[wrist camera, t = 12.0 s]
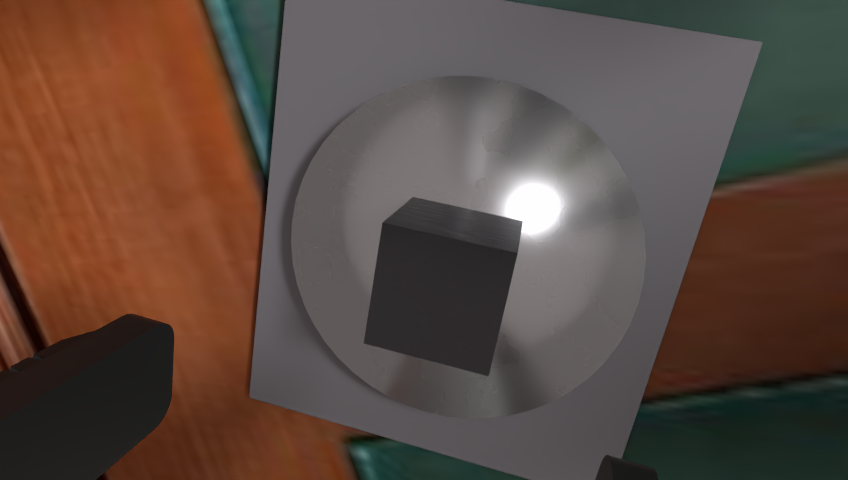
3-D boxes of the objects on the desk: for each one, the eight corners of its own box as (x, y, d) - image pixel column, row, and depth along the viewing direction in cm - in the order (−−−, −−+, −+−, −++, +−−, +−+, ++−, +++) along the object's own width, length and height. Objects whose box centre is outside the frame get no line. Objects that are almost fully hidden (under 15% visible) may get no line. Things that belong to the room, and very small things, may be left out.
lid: (321, 47, 20) (253, 35, 16) (689, 114, 18) (739, 123, 14) (286, 359, 24) (224, 425, 19) (588, 441, 22) (599, 537, 17)
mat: (293, -33, 20) (288, -35, 20) (758, 43, 18) (762, 42, 17) (253, 392, 26) (249, 397, 25) (605, 495, 23) (606, 502, 23)
